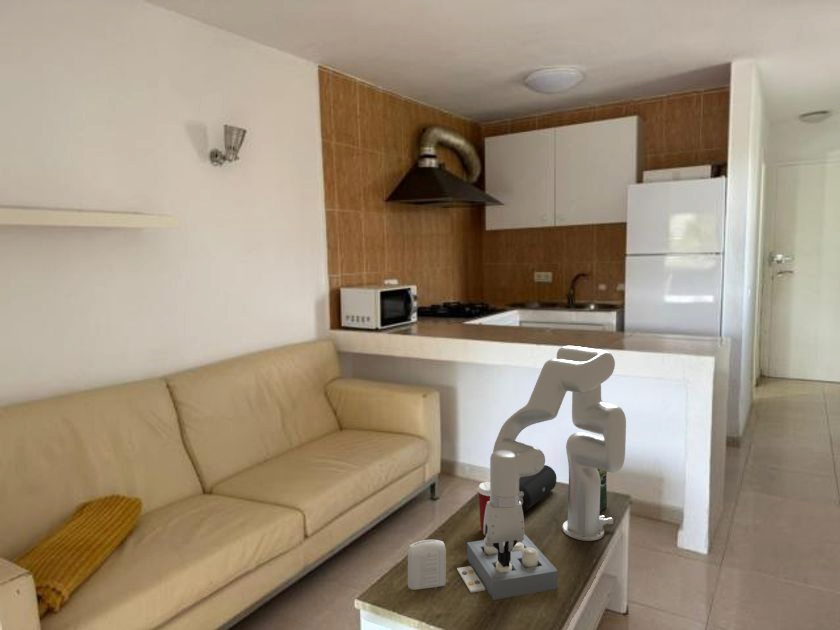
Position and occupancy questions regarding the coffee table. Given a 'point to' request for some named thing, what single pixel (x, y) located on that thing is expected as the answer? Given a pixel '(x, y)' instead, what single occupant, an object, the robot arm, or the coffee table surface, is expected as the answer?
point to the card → (471, 579)
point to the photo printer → (426, 564)
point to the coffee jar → (603, 489)
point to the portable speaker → (536, 486)
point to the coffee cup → (483, 500)
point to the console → (512, 572)
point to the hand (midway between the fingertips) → (504, 563)
